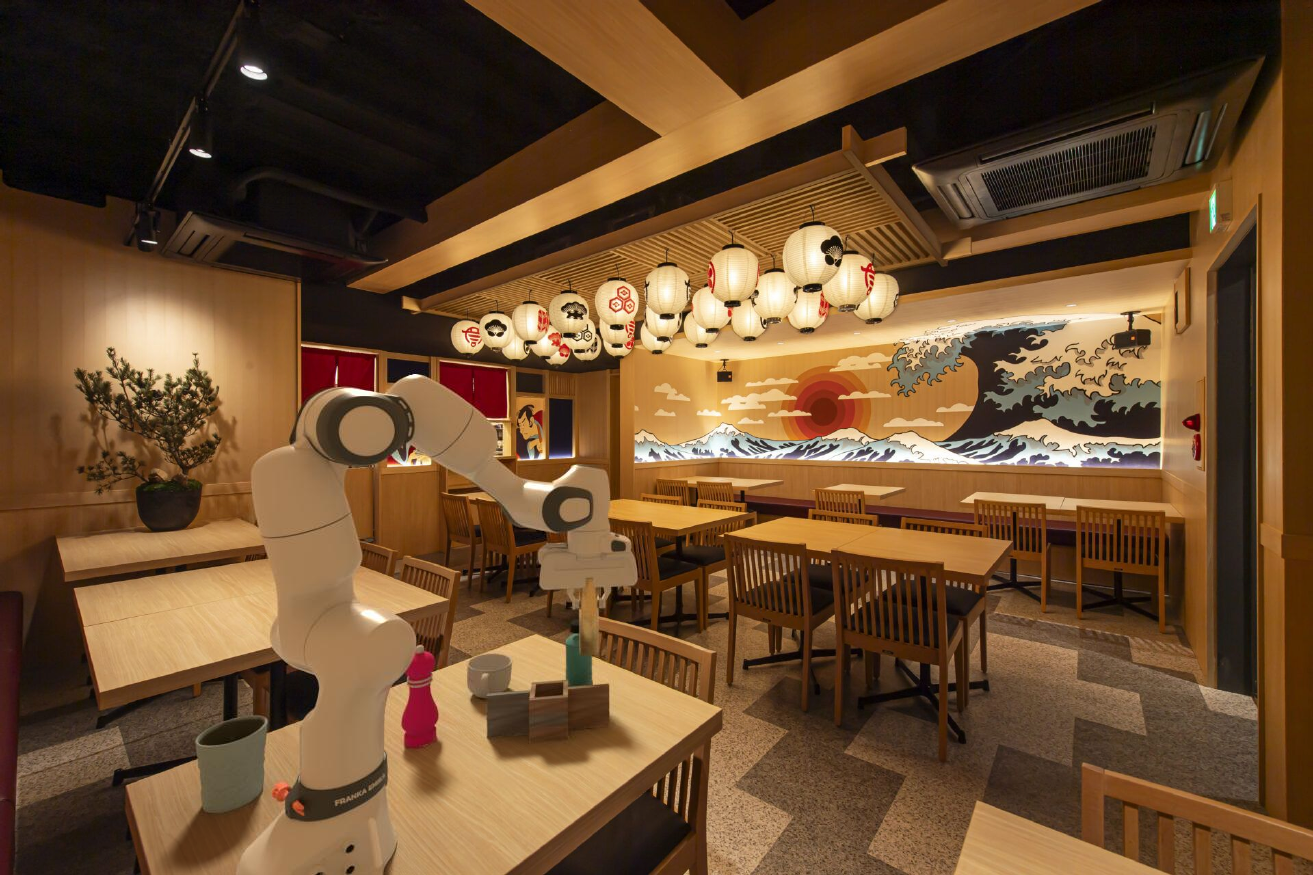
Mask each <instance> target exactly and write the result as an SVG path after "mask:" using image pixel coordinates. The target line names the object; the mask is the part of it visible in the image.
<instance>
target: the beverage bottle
mask: <svg viewBox="0 0 1313 875" xmlns="http://www.w3.org/2000/svg"><path fill="white" fill-rule="evenodd" d="M569 633H571V634H570V635H569V636H568V637H567V638H566V639H565V643H564V644H565V680H568V687H574V686H586V685H594V684H593V683H594V681H593V656H594V655H590V656H585V655H581V654H580V653H579V619H574V620H572V621H571V622H570V623H569Z"/></svg>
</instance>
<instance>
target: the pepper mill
mask: <svg viewBox="0 0 1313 875" xmlns="http://www.w3.org/2000/svg"><path fill="white" fill-rule="evenodd" d="M435 666H436V659H435V656H434V655H433V654H432V653H431V652H429V651H425V647H424V645H422V644H419V645H416V649H415V654H414V657H413V659H412V662H411V664H410V665H409V667H408V669H407V670H406V671H405V673H404V674H405V675H406V676H407V678H406V681H407V682H406V686H408V690H409V691H408V692H409V694H408V700H407V702H406V706H405V708H404V710H403V712H402V716H401V723H400V726H401V728H402V730H404V733H403V744H404V745H405V747H407V748H410V749H411V748H412V749H415V748H416V749H419V748H423V747H425V746H428V745H430V744H431V743H433V742H434V741H435V740H436V738H437V727H436V725H437V723H438V721H439V718H440V717H439V716H440V714H439V709H438V706H437V704H436V702H435V700H434V698H433V694H432V689H431V685H432V684H431V683H432V682H433V681H434V680H433V670H435Z"/></svg>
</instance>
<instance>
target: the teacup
mask: <svg viewBox="0 0 1313 875" xmlns="http://www.w3.org/2000/svg"><path fill="white" fill-rule="evenodd" d="M512 666H513V658H512V657H511V656H510V655H508V654H503V653H496V652H495V653H484V654H480V655H476V656H473V657H472V658H470V659H469V660H468V661H467V662H466V667H467V668H466V670H467V672H466V679H467V680H466V686H467V689H468V690H469V692H470V693H472V695H474V696H475V697H477V698H479V699H487V694H489V693H501V692H506V690H507V689H508V687H509V686H510V684H511V681H512V680H511V678H512V669H513V667H512Z"/></svg>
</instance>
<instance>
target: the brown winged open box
mask: <svg viewBox="0 0 1313 875" xmlns="http://www.w3.org/2000/svg"><path fill="white" fill-rule="evenodd" d="M610 717H611V716H610V683H600V684H599V683H598V684H593V685H586V686H574V687H568V680H566V679H561V680H547V681H535V682H534V681H533V682H531V686H530V689H527V690H515V691H503V692H501V693H489V694H487V698H486V738H487V739H490V738H491V739H492V738H501V737H511V736H523V735H528V736H529V740H528V742H529V744H534V743H535V744H536V743H545V742H547V743H548V742H556V741H557V742H558V741H566V740H569V731H575V730H585V729H586V730H587V729H595V728H596V729H597V728H604V727H606V728H607V727H610V725H611V723H610V719H611V718H610Z"/></svg>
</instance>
